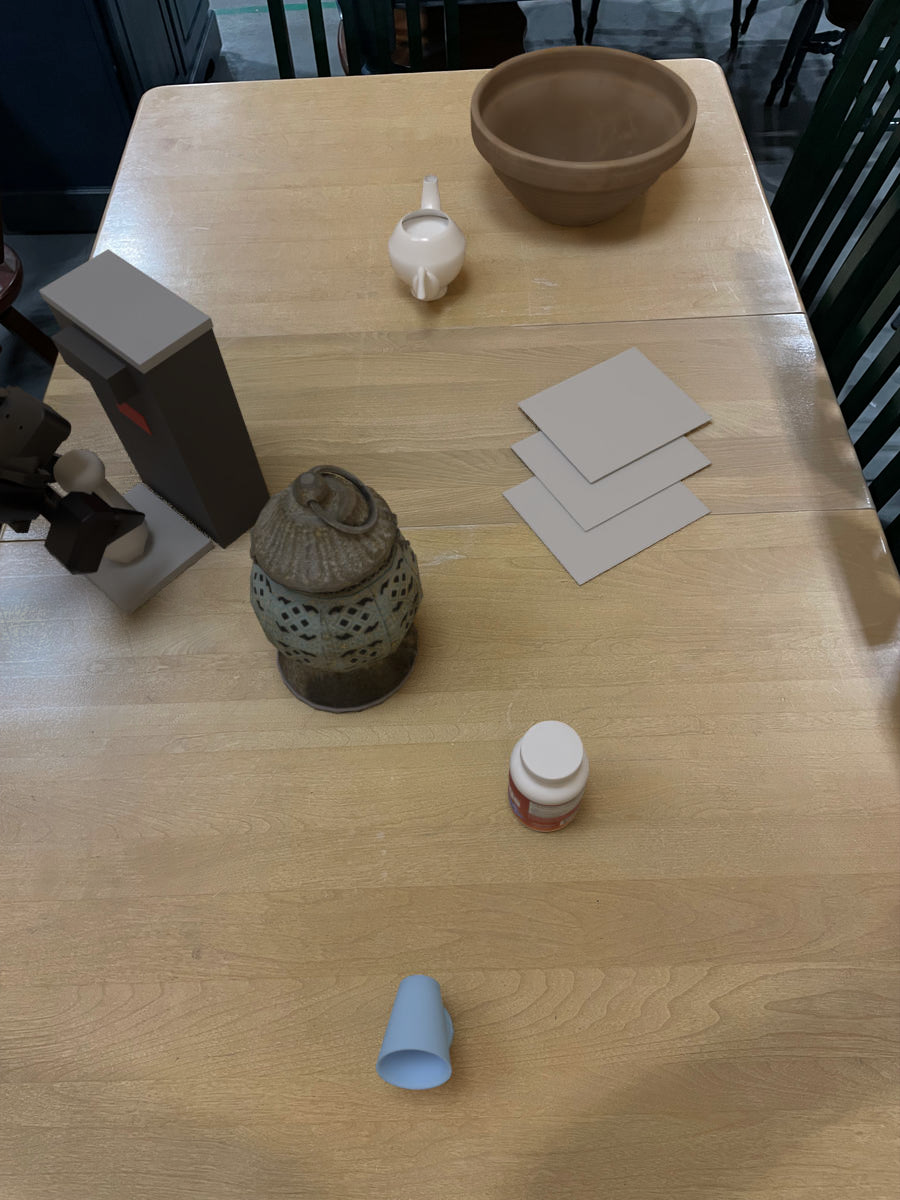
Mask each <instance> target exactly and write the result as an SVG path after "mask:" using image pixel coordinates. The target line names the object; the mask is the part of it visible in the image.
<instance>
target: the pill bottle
mask: <svg viewBox="0 0 900 1200" xmlns="http://www.w3.org/2000/svg"><path fill="white" fill-rule="evenodd" d="M509 758H510V759H509V767H508V779H507V781H508V784H507V800H508V803H509V807H510V810H511V812H512V814H513V816H514V817H515V818H516V819H517V821H519V822H520V823H521V824H522V825H523V826H525V827H527V828H528V829H529V830H530V829H531V830H534V831H536V832H544V833H548V832H549V833H550V832H555V831H558V830H560V829H561V830H562V829H563V828H565V827H567V825H569V824H570V823H571V822H572V821H573V820H574V819H575V817H576V816H577V814H578V812H579V810H580V807H581V804H582V800H583V797H584V793H585V790H586V786H587V783H588V780H589V775H590V760H589V756H588V753H587V751H586V749H585V747H584V744H583V741H582V739H581V737H580V735H579V733H578V732H577V731H576V730H575V729H574V728H573V727H571V726H570V725H568V724H566V723H565V722H562V721H559V720H543V721H539V722H537V723H535V724H534V725H532V726H531V727H530V728H529V729H527V731H526V732H525V733H524V734H523V736H522V737H521V738H519V739H518V741H517V742H516V744H515V745H514V746H513V749H512V750H511V755H510V757H509Z"/></svg>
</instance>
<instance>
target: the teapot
mask: <svg viewBox="0 0 900 1200" xmlns="http://www.w3.org/2000/svg"><path fill="white" fill-rule="evenodd" d="M439 187H440V186H439V179H438V177H437V176H436V175H435V174H427V175H424V177H423V181H422V191H421V199H420V200H421V201H420V208H418V209H415V210H412V211H410V212H408V213H406V214H405V215H404V216H402V217H401V218H400V219H399V220H398V222H397V224H396V225H395V227H394V228H393V231H392V232H391V233H390V236H389V238H388V240H387V255H388V259H389V263H390V265H391V267H392V269H393V271H394V272H395V274H396V275H397V277H398V278H399V279H400V280H401V281H402V282H403V283H404V284H405V285H407V286H409V287H410V288H409V289H410V293H411V295H412V296H413V297H414V298H416V299H417V300H420V301H423V302H432V301H436V300H439V299H441V298H442V297H444V296H445V295H446V294H447V293H448V285H449V284H451V283H452V282H453V281H454V280H455V279H456V278H457V276H458V275H459V274H460V272H461V270H462V268H463V266H464V264H465V260H466V256H467V241H466V240H467V239H466V237H465V234H464V232H463V230H462V229H461V228H460V227H459V225H458V224H457V223H456V221H455V220H454V219H453V218H452V216H450V215H449V214H448V213H446V212H444V211H443V210H442V203H441V202H442V201H441V195H440V188H439Z"/></svg>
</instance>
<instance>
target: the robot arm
mask: <svg viewBox="0 0 900 1200" xmlns="http://www.w3.org/2000/svg"><path fill="white" fill-rule="evenodd" d="M71 433H72V424H71V423H70V421H69V420H68V419H66V418H65V417H64V416H62V415H61V414H60V413H59V412H57V410H55V409H54V408H53V407H52V406H51V405H49V404H47V403H46V402H44V401H42V400H41V399H39V398H37V397H35V396H33V395H31V394H29V393H28V392H26V391H25V390H24V389H22V388H21V387H20V386H18V385H17V386H16V385H15V386H10V385H7V386H6V388H4V387H1V386H0V525H7V526H8V527H9V528H10V529H12V531H13V532H14V533H16V534H29V531H30V528H31V525H32V521H36V520H38V519H39V517H40V516H41V517H43V518H44V519H45V521H47V522H48V523H49V528H48V532H47V535H46V537H45V540H44V544H43V547H44V548H45V549H46V550H47V552H48V553H49V555H51V557H53V558H54V559H55V560H56V561H57V562H58V563H59V564H60V566H62V567H63V568H64V569H65V570H67V572H69V574H70V575H72V576H85V575H84V574H93V573H96V572H97V571H98V569H99V566H100V563H101V560H102V558H103V555H104V552H105V549H106V547H107V546H108V545H110V544H111V543H113V542H114V541H116V540H117V539H119V538H121V537H122V536H124V535H125V534H127V533H129V532H130V531H132V530H134V529H135V528H137V527H138V526H140V525H141V524H142V523H143V521H144V519H145V514H144V513H143V512H139V511H134V510H129V509H122V508H115V507H111V506H110V505H109V504H108V503H106V502H105V501H104V500H103V499H102V498H101V497H99V496H98V495H97V494H96V493H95V492H92V494H88V493H85V492H80V491H71V492H70V493H67V494H66V495H64V494H62V493H61V492H60V491H59V490H57V488H55V487H54V486H53V485H52V484H55V483H57V481H56V480H55V477H54V466H55V464H56V462H57V461H58V459H59V458H60V457H61V456H63V455H64V454H60V453H58V452H57V450H58V449H59V448H60V446H61V445H62V443H64V442H66V441H67V440H68V438H69V437H70V436H71Z"/></svg>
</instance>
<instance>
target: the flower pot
mask: <svg viewBox="0 0 900 1200" xmlns="http://www.w3.org/2000/svg"><path fill="white" fill-rule="evenodd" d="M469 111H470V112H469V113H470V131H471V132H470V133H471V138H472V141H473V143H474V146H475V148H476V150H477V152H478V153H479V154H480V156H481V157H482V158H483V159H484V160H485V161H486V162H487V164H489V165H490V167H491V168H492V170H493V172H494V174H495V175H496V176H497V177H498V178H499V180H500V181H501V183H502V185H503V186H505V188H506V189H507V190H508V191H509V192H510V193H511V194H512V196H513V197H514V198H515V199H516V200H518V201H519V202H520V203H521V204H522V205H523V206H524V207H525V208H526V209H527V210H528V211H529V212H530V213H531V214H533V215H534V216H535V217H537V218H539V219H541V220H543V221H545V222H548V223H551V224H555V225H559V226H567V227H582V226H583V227H584V226H589V225H594V224H597V223H600V222H604V221H606V220H607V219H610V218H611V217H613V216H614V215H615V214H616V213H618V212H619V211H621V210H622V209H624V208H625V207H627V206H628V205H630V204H631V203H633V202H634V201H635V200H637V199H638V198H639V197H641V196H642V195H643V194H644V193H645V192H646V191H647V190H649V189H650V188H651V187H652V186H653V185H654V184H655V183H657V182H658V180H659V179H660V178H661V177H662V175H663V174H665V173H667V172H668V171H669V170H671V169H672V168H673V167H674V166H675V165H677V164H678V163H679V161H680V160H681V159H682V158H683V157H684V156H685V154H686V153H687V150H688V149H689V147H690V144H691V142H692V137H693V134H694V131H695V127H696V121H697V116H698V101H697V98H696V95H695V94H694V91H693V90H692V88H691V87H690V86H689V84H688V83H687V82H686V81H685V80H684V79H683V78H682V77H681V76H680V75H679V74H678V73H676V72H675V71H673V69H670V68H669V67H668V66H665V64H663V63H660V62H658V61H656V60H654V59H652V58H649V57H646V56H643V55H641V54H638V53H634V52H631V51H627V50H623V49H618V48H612V47H605V46H594V45H565V46H564V45H563V46H554V47H548V48H547V47H546V48H543V49H537V50H533V51H532V50H531V51H528V52H525V53H522V54H519V55H516V56H513V57H511V58H509V59H507V60H505V61H503V62H501V63H499V64H498V65H496V66H495V67H493V68H491V70H490V71H488V72H487V73H486V74H484V76H483V77H481V79H480V80H479V82H478V83H477V84H476V86H475V87H474V90H473V92H472V95H471V98H470V109H469Z"/></svg>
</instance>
